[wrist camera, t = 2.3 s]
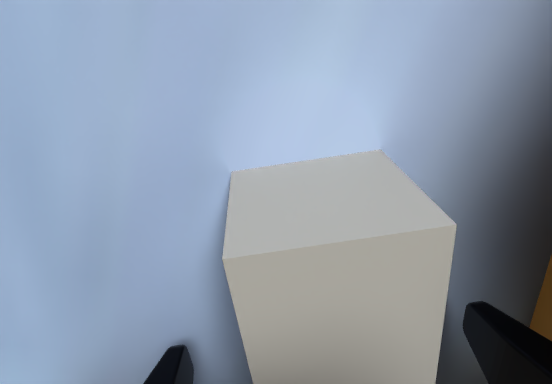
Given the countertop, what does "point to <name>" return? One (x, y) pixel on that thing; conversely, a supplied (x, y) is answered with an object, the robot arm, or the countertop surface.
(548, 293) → the tall amber prism
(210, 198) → the countertop surface
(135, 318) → the countertop surface
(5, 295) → the countertop surface
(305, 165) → the off-white square pillar
